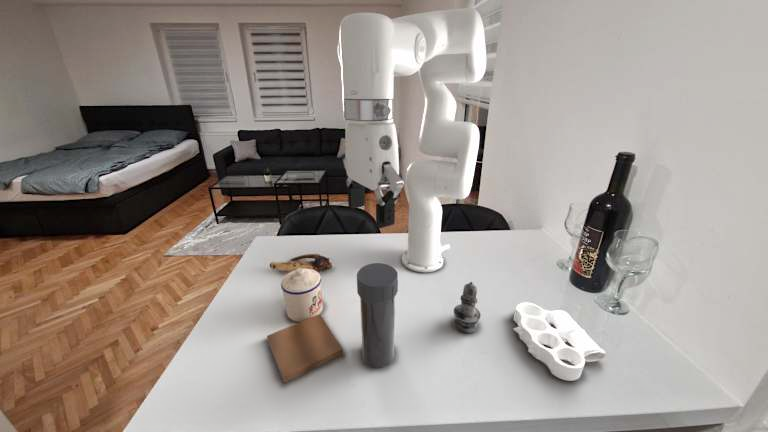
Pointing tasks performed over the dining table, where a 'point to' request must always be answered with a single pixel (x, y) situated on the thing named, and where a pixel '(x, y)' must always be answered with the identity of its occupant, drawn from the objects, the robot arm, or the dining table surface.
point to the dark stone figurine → (467, 311)
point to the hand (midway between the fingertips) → (370, 215)
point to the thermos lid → (377, 283)
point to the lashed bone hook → (303, 263)
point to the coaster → (303, 347)
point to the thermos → (377, 332)
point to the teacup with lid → (302, 294)
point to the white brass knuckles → (556, 340)
